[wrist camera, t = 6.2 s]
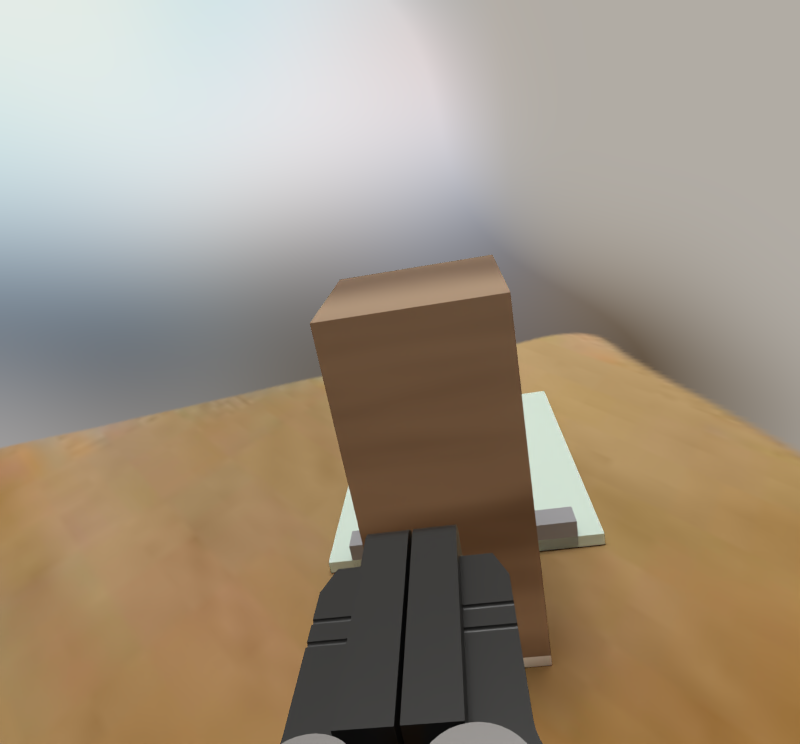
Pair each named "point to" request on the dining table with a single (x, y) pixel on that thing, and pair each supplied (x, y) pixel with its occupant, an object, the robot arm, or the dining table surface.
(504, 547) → the walnut block
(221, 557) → the dining table surface
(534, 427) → the sage mat
